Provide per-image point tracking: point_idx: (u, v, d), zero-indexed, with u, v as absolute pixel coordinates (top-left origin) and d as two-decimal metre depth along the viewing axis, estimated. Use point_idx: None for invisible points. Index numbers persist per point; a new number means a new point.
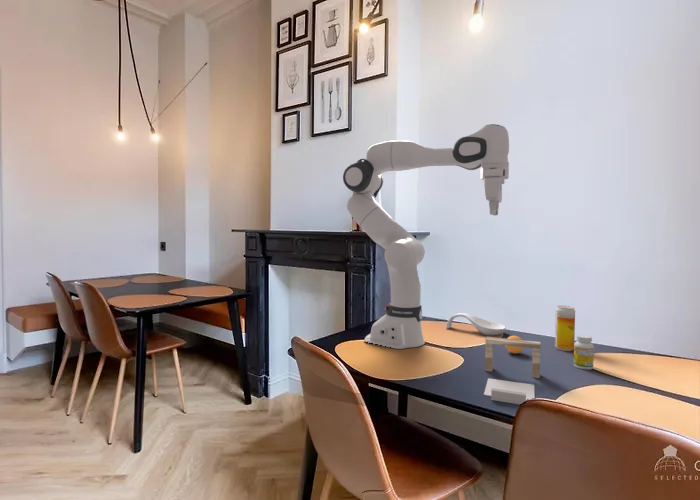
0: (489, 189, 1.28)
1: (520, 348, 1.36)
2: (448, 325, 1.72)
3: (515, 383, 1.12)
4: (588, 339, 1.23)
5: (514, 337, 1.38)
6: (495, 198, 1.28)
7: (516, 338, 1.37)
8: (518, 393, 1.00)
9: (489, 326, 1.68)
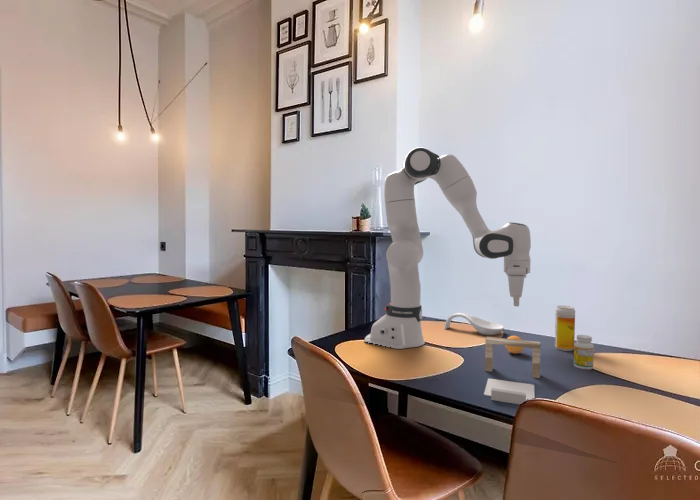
0: (514, 288, 1.38)
1: (520, 348, 1.36)
2: (446, 325, 1.72)
3: (515, 383, 1.12)
4: (588, 339, 1.23)
5: (514, 337, 1.38)
6: (519, 296, 1.37)
7: (516, 338, 1.37)
8: (518, 393, 1.00)
9: (487, 326, 1.69)
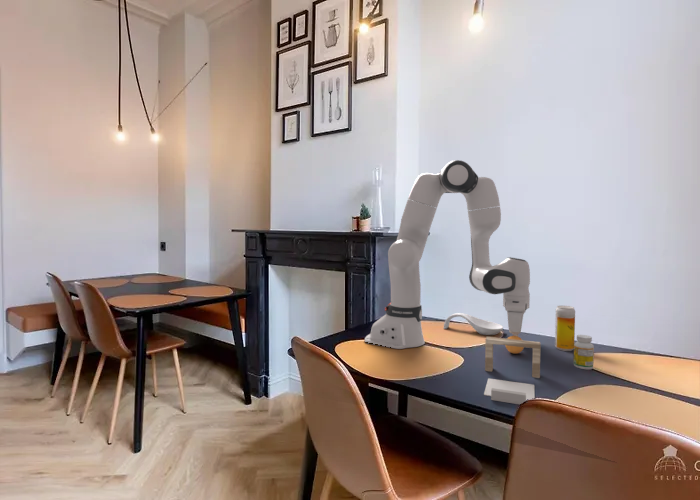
0: (513, 324, 1.38)
1: (520, 348, 1.36)
2: (446, 325, 1.72)
3: (515, 383, 1.12)
4: (588, 339, 1.23)
5: (514, 337, 1.38)
6: (518, 333, 1.38)
7: (516, 338, 1.37)
8: (518, 393, 1.00)
9: (486, 326, 1.69)
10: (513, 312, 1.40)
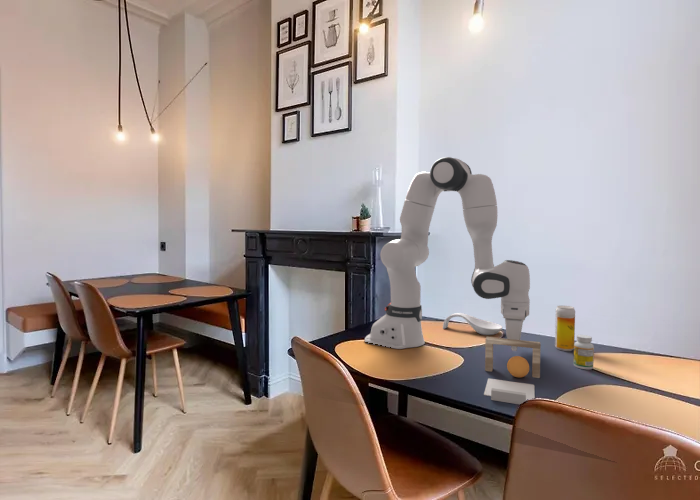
0: (511, 333, 1.27)
1: None
2: (445, 325, 1.72)
3: (515, 383, 1.12)
4: (588, 339, 1.23)
5: (518, 368, 1.15)
6: None
7: (520, 369, 1.15)
8: (518, 393, 1.00)
9: (486, 326, 1.69)
10: (511, 320, 1.28)
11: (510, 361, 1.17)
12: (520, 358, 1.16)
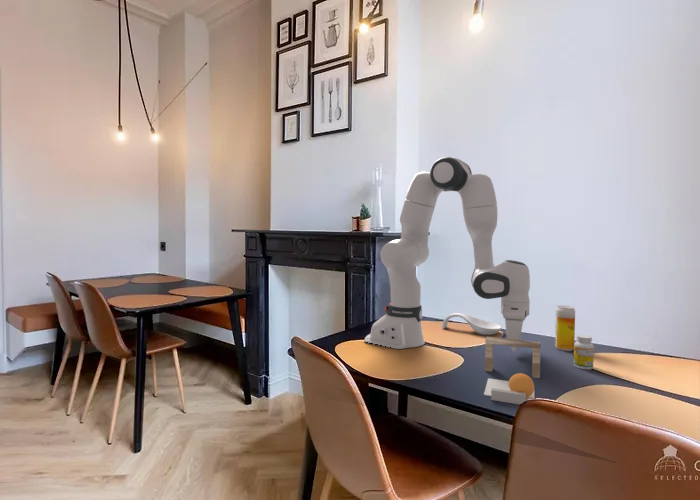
0: (511, 333, 1.27)
1: (529, 390, 1.01)
2: (444, 325, 1.72)
3: None
4: (588, 339, 1.23)
5: (521, 375, 1.03)
6: None
7: (523, 376, 1.03)
8: (518, 393, 1.00)
9: (485, 326, 1.69)
10: (511, 320, 1.28)
11: (512, 376, 1.05)
12: None
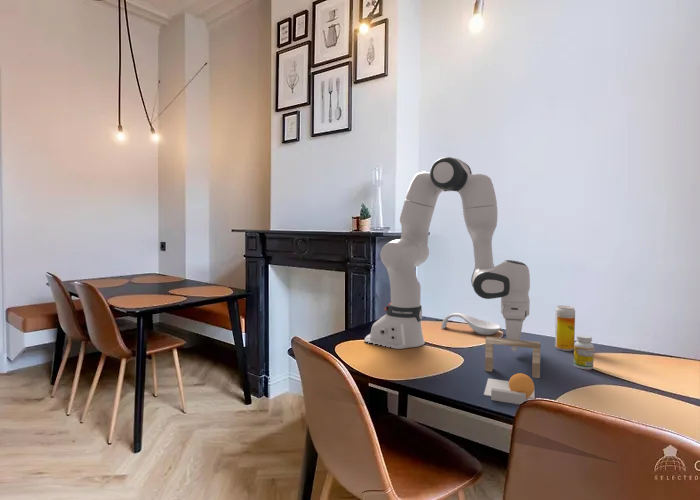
0: (511, 333, 1.27)
1: (529, 390, 1.01)
2: (443, 325, 1.72)
3: None
4: (588, 339, 1.23)
5: (521, 375, 1.03)
6: None
7: (523, 376, 1.03)
8: (518, 393, 1.00)
9: (484, 326, 1.69)
10: (511, 320, 1.28)
11: (512, 376, 1.05)
12: None
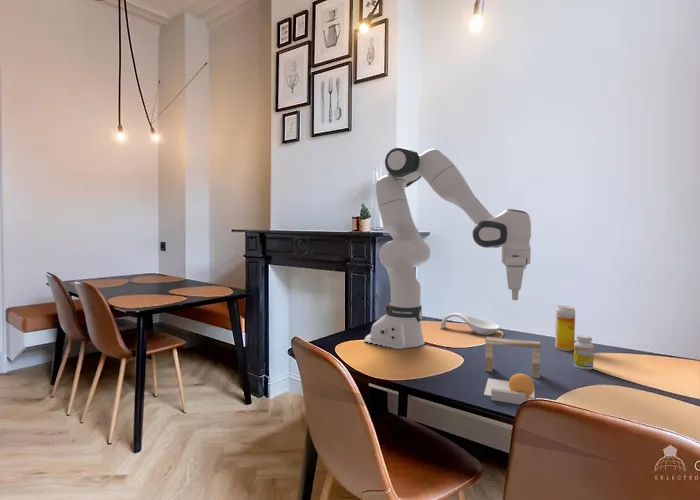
0: (512, 279, 1.26)
1: (529, 390, 1.01)
2: (442, 325, 1.72)
3: None
4: (588, 339, 1.23)
5: (521, 375, 1.03)
6: (518, 289, 1.26)
7: (523, 376, 1.03)
8: (518, 393, 1.00)
9: (483, 326, 1.69)
10: (512, 266, 1.27)
11: (512, 376, 1.05)
12: None
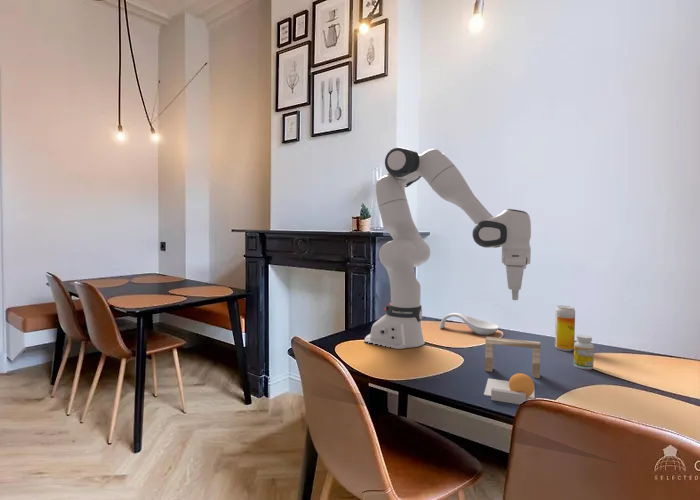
0: (512, 279, 1.26)
1: (529, 390, 1.01)
2: (442, 325, 1.72)
3: None
4: (588, 339, 1.23)
5: (521, 375, 1.03)
6: (518, 289, 1.26)
7: (523, 376, 1.03)
8: (518, 393, 1.00)
9: (482, 326, 1.69)
10: (512, 266, 1.27)
11: (512, 376, 1.05)
12: None
